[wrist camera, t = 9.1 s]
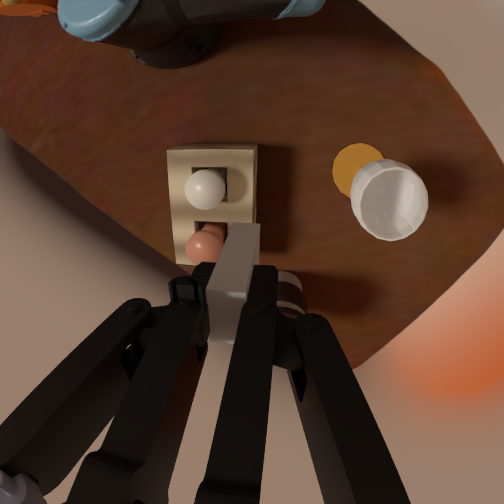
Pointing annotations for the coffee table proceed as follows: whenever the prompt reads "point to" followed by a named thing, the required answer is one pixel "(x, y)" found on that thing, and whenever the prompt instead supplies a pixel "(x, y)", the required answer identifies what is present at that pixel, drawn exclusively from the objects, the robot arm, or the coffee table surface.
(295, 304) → the coffee cup
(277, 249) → the coffee table surface
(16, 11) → the alarm clock
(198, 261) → the terracotta plug
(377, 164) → the cup
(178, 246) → the beech block
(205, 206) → the ivory plug
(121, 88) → the coffee table surface
